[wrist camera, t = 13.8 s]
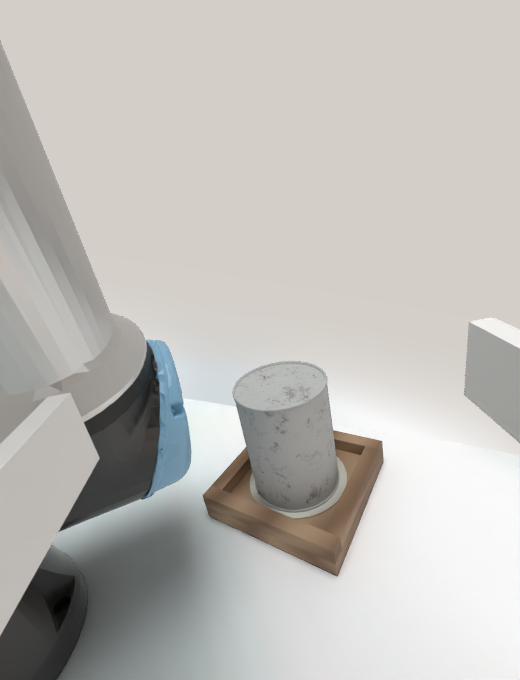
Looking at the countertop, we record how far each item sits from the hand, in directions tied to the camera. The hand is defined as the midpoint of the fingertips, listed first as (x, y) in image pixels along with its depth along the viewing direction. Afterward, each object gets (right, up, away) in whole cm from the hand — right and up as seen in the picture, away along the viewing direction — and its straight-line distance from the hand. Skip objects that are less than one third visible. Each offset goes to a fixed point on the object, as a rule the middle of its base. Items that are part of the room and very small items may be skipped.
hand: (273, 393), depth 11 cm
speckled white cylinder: (+4, -14, +27) cm, 31 cm away
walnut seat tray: (+4, -15, +28) cm, 32 cm away
